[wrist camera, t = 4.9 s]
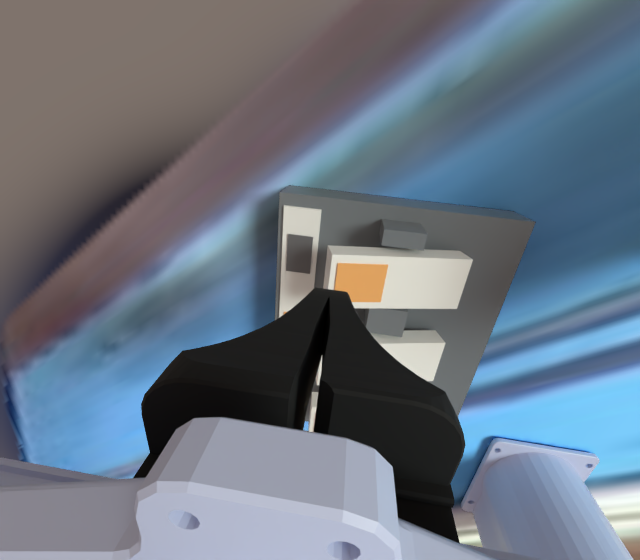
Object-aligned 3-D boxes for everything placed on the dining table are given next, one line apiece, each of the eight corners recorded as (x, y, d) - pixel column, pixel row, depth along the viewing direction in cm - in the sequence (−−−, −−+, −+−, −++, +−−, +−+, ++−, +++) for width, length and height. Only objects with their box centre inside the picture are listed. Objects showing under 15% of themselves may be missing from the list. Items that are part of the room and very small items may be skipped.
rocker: (445, 297, 17) (457, 309, 16) (322, 296, 16) (326, 308, 15) (459, 250, 16) (474, 260, 15) (327, 245, 15) (332, 255, 14)
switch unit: (438, 416, 25) (454, 471, 21) (279, 390, 26) (264, 438, 22) (513, 211, 18) (559, 233, 14) (289, 185, 19) (269, 199, 14)
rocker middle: (424, 367, 19) (433, 382, 18) (314, 370, 18) (316, 386, 17) (435, 330, 18) (446, 343, 17) (318, 331, 17) (321, 345, 16)
